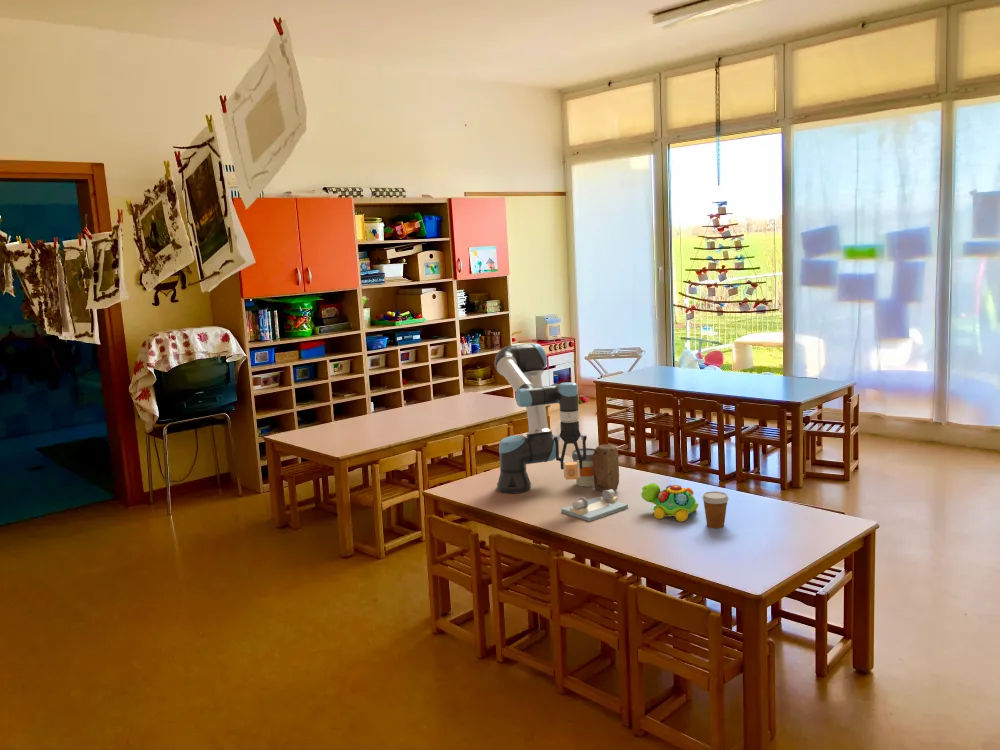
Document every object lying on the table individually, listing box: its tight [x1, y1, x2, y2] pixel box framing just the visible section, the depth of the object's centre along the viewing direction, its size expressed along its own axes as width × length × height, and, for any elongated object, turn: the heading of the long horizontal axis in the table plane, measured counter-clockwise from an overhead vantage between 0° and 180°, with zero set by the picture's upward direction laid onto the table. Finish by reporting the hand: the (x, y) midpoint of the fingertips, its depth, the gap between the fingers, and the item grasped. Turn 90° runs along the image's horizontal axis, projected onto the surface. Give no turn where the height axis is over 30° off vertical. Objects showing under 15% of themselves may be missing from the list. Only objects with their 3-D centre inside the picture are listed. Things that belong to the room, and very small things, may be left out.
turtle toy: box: [640, 482, 699, 523], centre depth 315 cm, size 17×23×12 cm
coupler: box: [565, 461, 578, 480], centre depth 324 cm, size 5×10×6 cm, turn 175°
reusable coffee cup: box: [571, 447, 595, 488], centre depth 359 cm, size 13×13×15 cm
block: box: [593, 443, 620, 493], centre depth 347 cm, size 11×8×20 cm
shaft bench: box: [561, 489, 629, 522], centre depth 324 cm, size 16×23×7 cm
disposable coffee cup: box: [702, 490, 730, 529], centre depth 300 cm, size 10×10×12 cm
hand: (571, 476), depth 325 cm, fingers closed on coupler, 5 cm apart
